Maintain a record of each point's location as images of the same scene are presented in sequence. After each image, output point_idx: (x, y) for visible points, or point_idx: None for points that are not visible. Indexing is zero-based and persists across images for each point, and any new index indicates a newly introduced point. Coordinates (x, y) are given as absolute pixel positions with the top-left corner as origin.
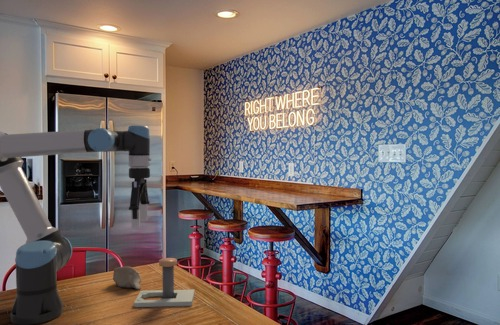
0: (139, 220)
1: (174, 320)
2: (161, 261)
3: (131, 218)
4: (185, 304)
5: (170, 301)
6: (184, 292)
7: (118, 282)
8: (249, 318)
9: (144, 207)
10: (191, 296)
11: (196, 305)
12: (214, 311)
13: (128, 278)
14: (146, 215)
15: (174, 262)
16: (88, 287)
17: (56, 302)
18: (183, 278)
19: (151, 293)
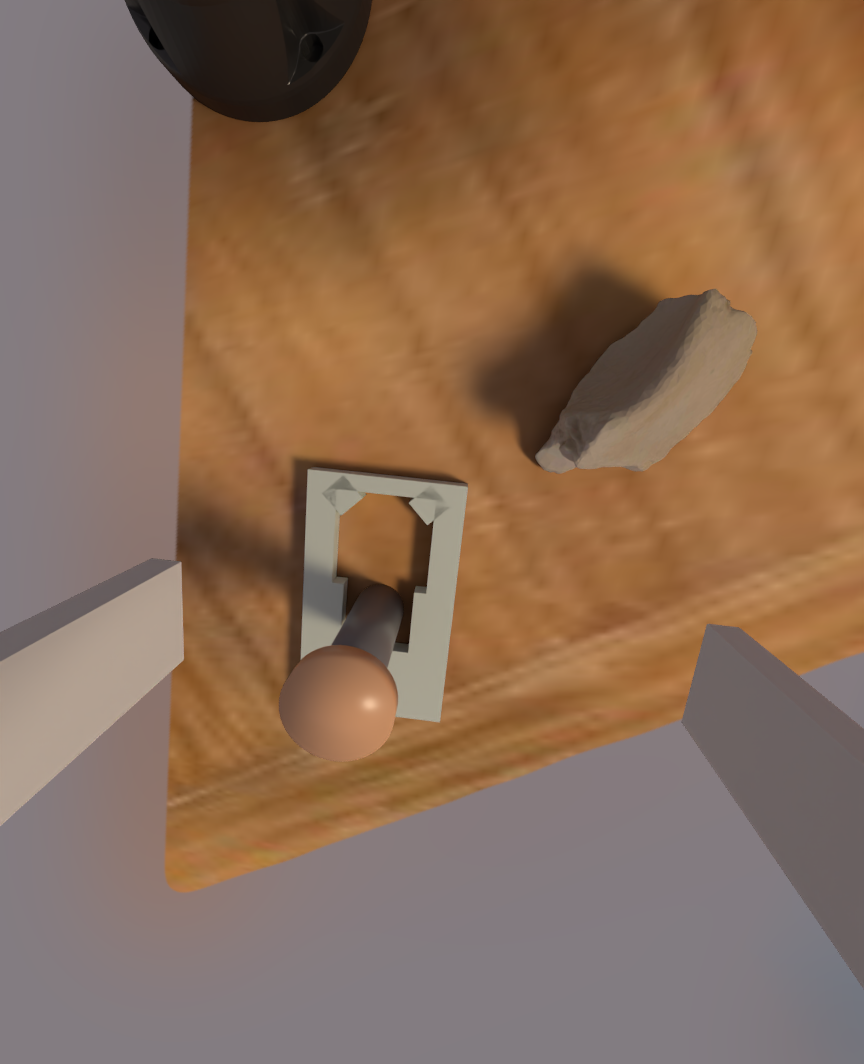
0: (101, 718)
1: None
2: (310, 673)
3: (37, 614)
4: None
5: (307, 624)
6: (407, 680)
7: (624, 342)
8: (180, 853)
9: (853, 897)
10: None
11: None
12: (243, 763)
13: (564, 411)
14: (727, 781)
15: (302, 742)
16: (654, 153)
17: (200, 59)
18: (667, 673)
19: (432, 537)
